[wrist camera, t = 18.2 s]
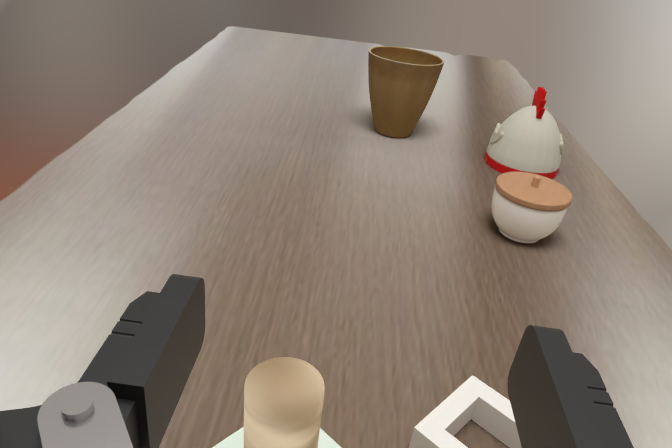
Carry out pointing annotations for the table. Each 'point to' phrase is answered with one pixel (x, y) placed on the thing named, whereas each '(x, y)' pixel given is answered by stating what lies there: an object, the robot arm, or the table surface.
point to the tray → (235, 442)
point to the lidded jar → (528, 206)
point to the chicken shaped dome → (527, 141)
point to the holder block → (467, 418)
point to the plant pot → (400, 87)
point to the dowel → (283, 404)
